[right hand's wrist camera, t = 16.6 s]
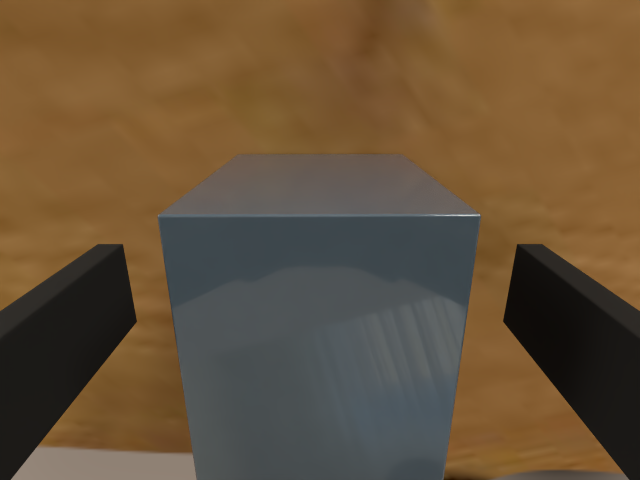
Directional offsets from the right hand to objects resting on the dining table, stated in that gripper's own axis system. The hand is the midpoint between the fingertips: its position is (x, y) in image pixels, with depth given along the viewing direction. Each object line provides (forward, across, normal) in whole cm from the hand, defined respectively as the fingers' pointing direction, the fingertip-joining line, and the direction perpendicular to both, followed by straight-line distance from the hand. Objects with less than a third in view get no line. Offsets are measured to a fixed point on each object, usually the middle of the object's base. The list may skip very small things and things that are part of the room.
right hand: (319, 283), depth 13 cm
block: (+3, 0, 0) cm, 3 cm away
